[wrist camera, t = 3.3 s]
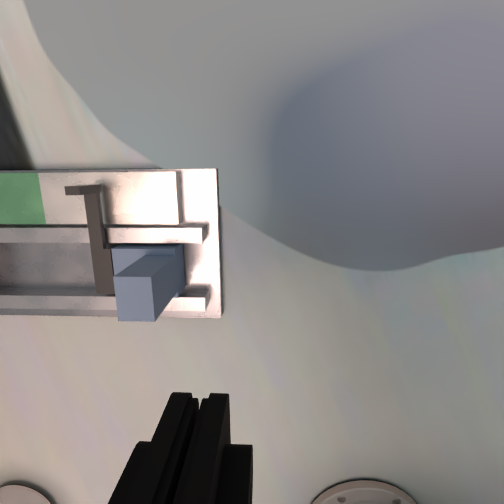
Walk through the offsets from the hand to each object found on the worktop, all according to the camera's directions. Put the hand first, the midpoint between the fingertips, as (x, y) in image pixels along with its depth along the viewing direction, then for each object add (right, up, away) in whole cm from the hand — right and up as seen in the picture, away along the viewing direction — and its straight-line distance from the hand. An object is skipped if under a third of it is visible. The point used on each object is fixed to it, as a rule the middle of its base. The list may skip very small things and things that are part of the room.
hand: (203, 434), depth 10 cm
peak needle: (-11, +7, +18) cm, 22 cm away
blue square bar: (-7, +4, +19) cm, 20 cm away
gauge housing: (-14, +6, +20) cm, 25 cm away
